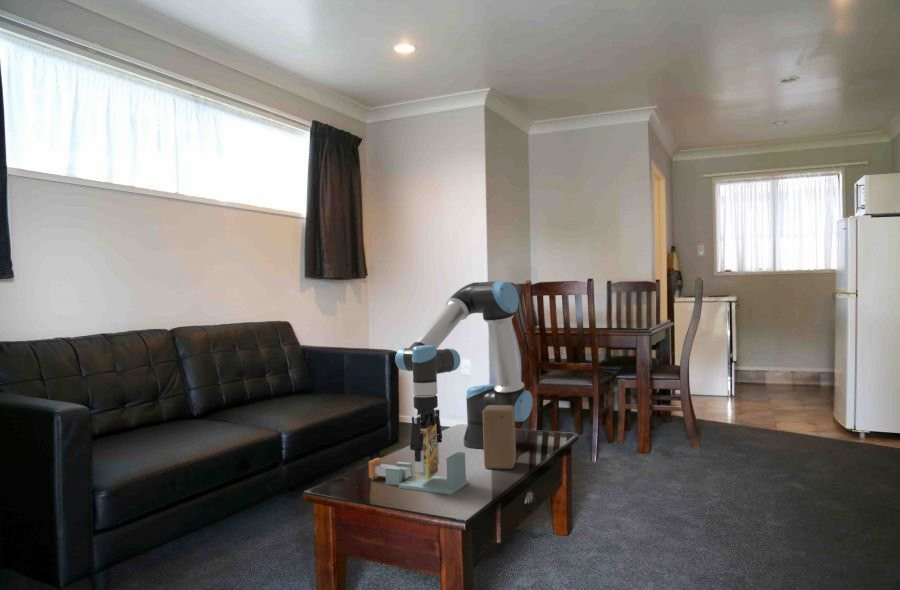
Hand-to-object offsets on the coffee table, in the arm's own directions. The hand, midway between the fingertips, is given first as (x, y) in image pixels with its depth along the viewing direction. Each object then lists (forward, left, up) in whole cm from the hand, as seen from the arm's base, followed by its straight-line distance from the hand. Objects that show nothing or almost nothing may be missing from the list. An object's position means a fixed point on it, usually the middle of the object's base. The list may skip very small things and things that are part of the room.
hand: (427, 467), depth 188 cm
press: (0, -1, -5) cm, 6 cm away
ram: (0, -14, -5) cm, 14 cm away
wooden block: (-28, +13, -6) cm, 31 cm away
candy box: (0, 0, -3) cm, 3 cm away
